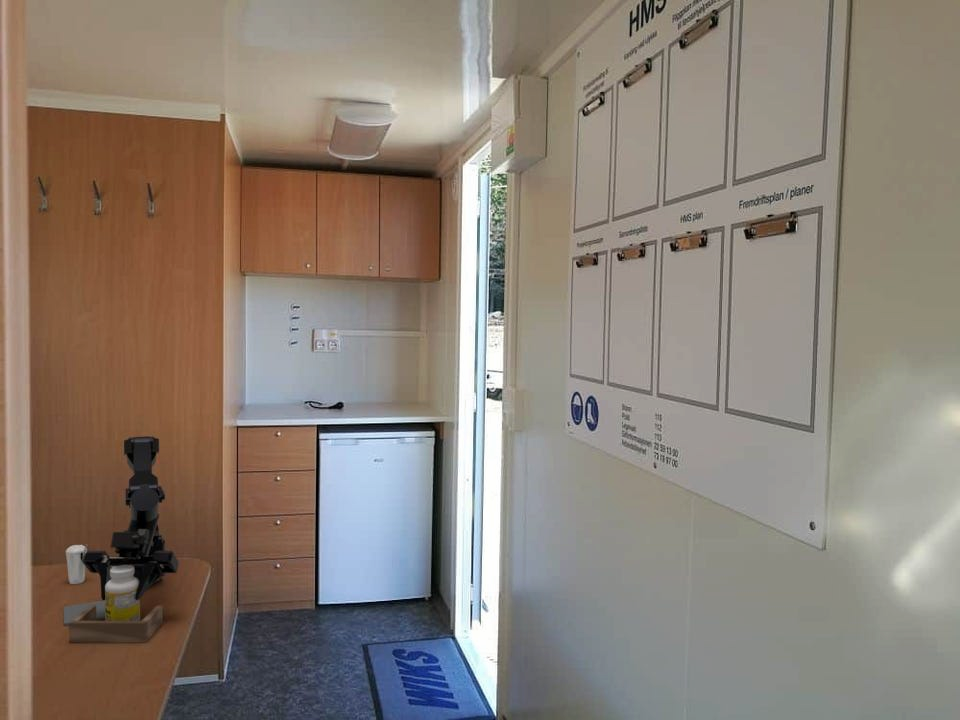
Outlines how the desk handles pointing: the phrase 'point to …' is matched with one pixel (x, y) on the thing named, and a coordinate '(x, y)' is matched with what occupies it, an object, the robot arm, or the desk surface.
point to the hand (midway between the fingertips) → (119, 599)
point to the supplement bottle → (122, 595)
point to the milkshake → (76, 563)
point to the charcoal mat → (76, 610)
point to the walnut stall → (113, 627)
